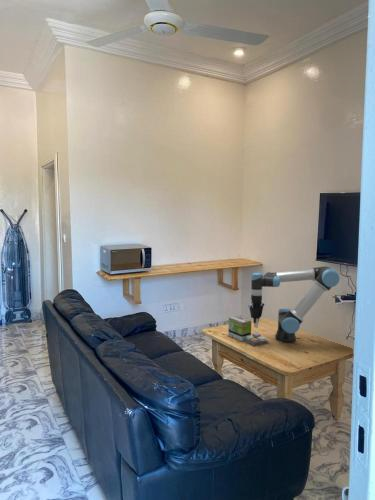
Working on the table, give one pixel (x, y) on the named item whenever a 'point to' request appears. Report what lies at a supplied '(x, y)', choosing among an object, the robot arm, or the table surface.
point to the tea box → (239, 327)
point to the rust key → (254, 340)
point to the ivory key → (261, 339)
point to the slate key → (256, 335)
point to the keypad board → (255, 343)
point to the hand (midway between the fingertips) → (255, 327)
